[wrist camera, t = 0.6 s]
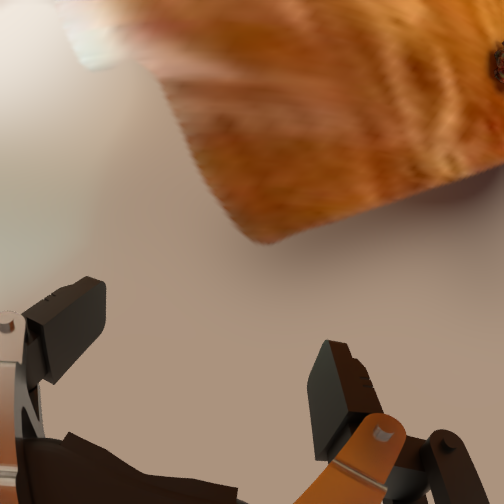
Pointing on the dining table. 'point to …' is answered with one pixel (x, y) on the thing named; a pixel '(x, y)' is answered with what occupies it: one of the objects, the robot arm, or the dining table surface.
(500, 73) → the dragon fruit
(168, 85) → the dining table surface
